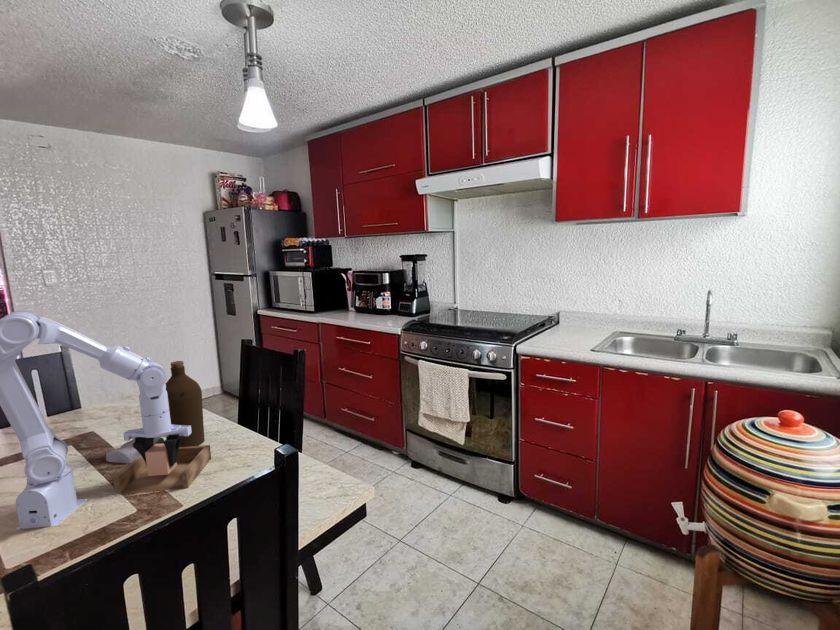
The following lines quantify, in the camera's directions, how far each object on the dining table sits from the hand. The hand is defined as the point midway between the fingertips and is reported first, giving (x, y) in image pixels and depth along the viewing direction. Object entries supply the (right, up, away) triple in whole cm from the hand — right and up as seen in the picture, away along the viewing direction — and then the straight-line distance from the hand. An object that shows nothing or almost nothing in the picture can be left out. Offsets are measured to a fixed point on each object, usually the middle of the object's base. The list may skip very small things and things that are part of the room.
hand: (162, 464), depth 101 cm
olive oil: (-5, -2, +19) cm, 20 cm away
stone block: (-17, -3, +15) cm, 22 cm away
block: (0, -2, 0) cm, 2 cm away
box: (0, -4, +2) cm, 4 cm away
